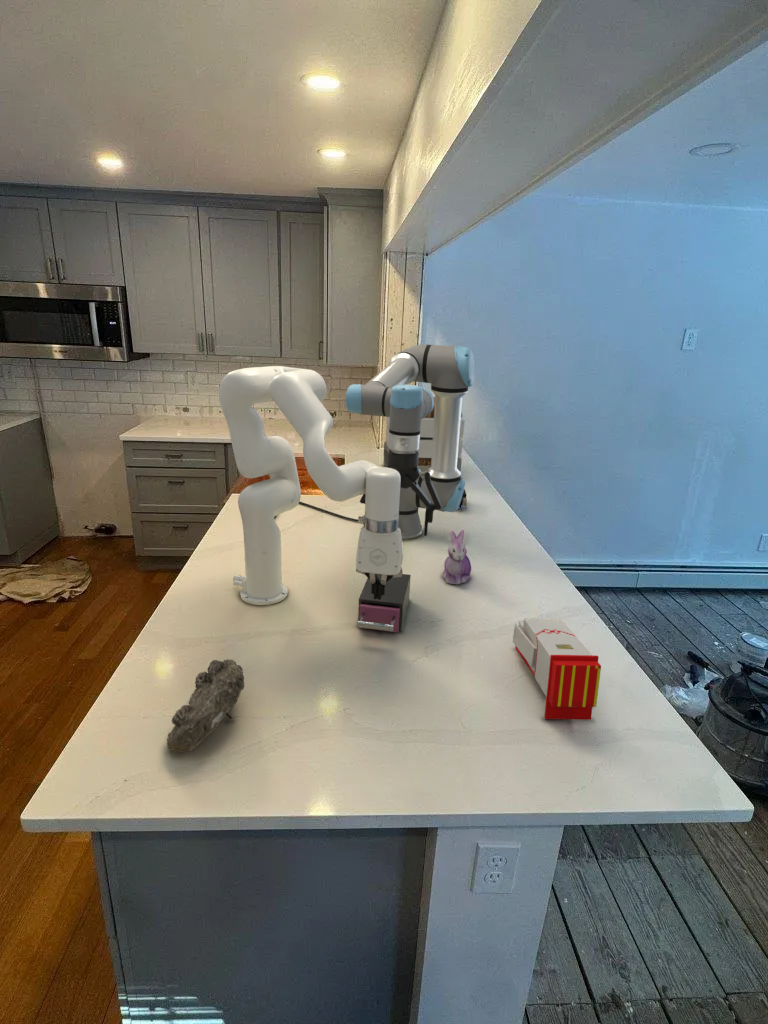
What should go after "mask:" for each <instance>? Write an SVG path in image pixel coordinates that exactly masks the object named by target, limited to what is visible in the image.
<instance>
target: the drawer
mask: <svg viewBox="0 0 768 1024" xmlns="http://www.w3.org/2000/svg"><path fill="white" fill-rule="evenodd" d="M358 608H359V607H358ZM399 616H400V609H399V606H390V605H381V604H373V603H365V604H360V608H359V620H358V619H357V625H356V626H357V628H361V629H367V630H375V631H383V632H384V631H385V632H393V633H399V632H398V630H399Z"/></svg>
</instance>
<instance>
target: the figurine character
mask: <svg viewBox="0 0 768 1024" xmlns="http://www.w3.org/2000/svg"><path fill="white" fill-rule="evenodd" d="M467 503H468V498H467V492H466V489H465V488H464V492H463V496H462V499H461V502H460V505H459V507H458V509H460V511H463V507H464V508H465V507H467Z"/></svg>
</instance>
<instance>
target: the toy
mask: <svg viewBox="0 0 768 1024" xmlns="http://www.w3.org/2000/svg"><path fill="white" fill-rule="evenodd" d="M512 643H513V645H514V649H515V650H516V652H517V653H518V655H519V656H520V658H521V660H522V661H523V662H524V664H525V665H526V666H527V669H529V671H530V672H531V674H532V675H533V676H534V679H535V680H536V682H537V683H538V685H539V687H540V689H541V691H542V692H543V694H544V695H545V707H544V710H545V711H544V719H545V720H572V721H573V720H574V721H575V720H576V721H577V720H578V721H579V720H581V721H584V720H585V721H587V720H588V721H591V720H592V716H593V715H592V714H593V708H597V704H598V696H599V695H598V694H599V687H600V678H601V673H602V672H601V670H602V665H601V664H600V663H599V655H595V654H594V655H593V654H592V653H591V652H590V651H589V649H587V647H586V646H585V645H584V644H583V643H582V642H581V640H580V639H579V638H578V637H577V636H576V635H575V633H574V632H573V631H572V630H571V629H570V627H569V626H568V625H567V624H566V623H565V621H563V619H562V618H523V620H518V624H514V628H513V634H512Z"/></svg>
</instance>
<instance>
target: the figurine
mask: <svg viewBox="0 0 768 1024" xmlns="http://www.w3.org/2000/svg"><path fill="white" fill-rule="evenodd" d="M455 533H456V532H454V531H453V530H450V531H449V541H450V544H449V545H448V548H447V554H448V556H447V557H446V558H445V560H444V564H443V565H444V569H443V575H442V576H443V579H444V580H445V582H446V583H447V584H450V585H451V584H452V585H460V584H464V583H466V582H468V580H469V579H470V576H471V573H472V563H471V560H470V558H469V557H468V555H467V553H468V550H467V547H466V545H465V542H464V539H465V535H466V534H465V533H466V532H465V530H464V529H462V530H460V531H459V534H458V535H456V534H455Z"/></svg>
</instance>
